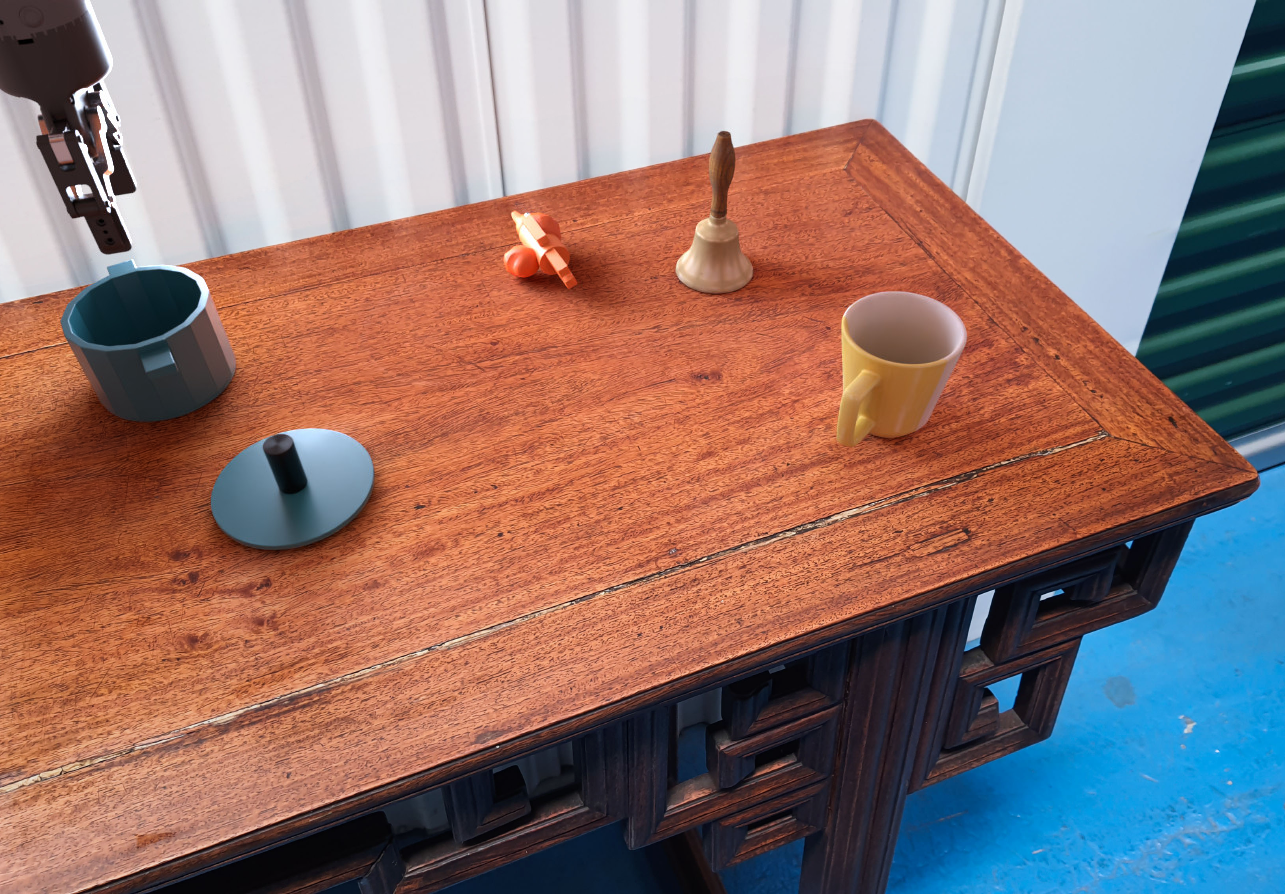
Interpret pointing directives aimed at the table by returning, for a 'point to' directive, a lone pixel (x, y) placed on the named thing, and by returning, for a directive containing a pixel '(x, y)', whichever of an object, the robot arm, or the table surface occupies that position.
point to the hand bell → (716, 234)
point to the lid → (292, 489)
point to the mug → (895, 363)
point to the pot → (150, 341)
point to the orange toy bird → (539, 248)
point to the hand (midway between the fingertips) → (121, 220)
